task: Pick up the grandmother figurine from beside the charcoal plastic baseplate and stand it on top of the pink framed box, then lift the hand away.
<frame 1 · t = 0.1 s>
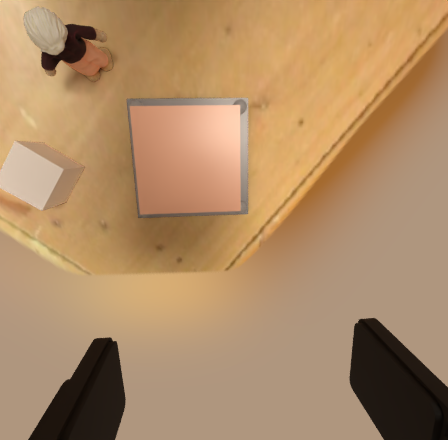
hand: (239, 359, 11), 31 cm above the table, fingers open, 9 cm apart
white cube: (56, 173, 38), on the table
pink framed box: (191, 159, 39), on the table
grandmother figurine: (94, 67, 35), on the table
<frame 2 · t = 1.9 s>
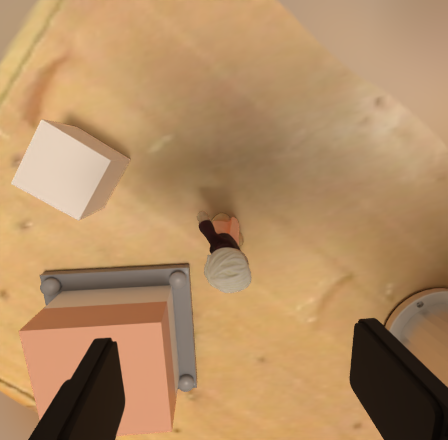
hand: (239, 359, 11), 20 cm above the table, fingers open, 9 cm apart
white cube: (92, 168, 28), on the table
pink framed box: (126, 330, 33), on the table
grandmother figurine: (222, 228, 31), on the table
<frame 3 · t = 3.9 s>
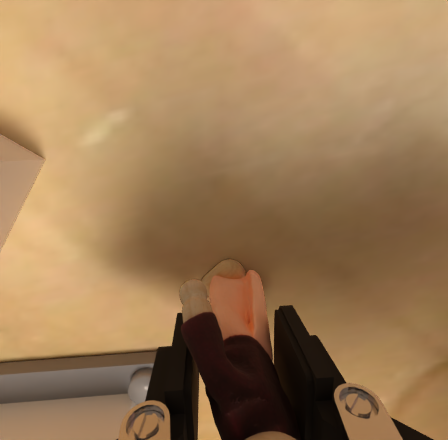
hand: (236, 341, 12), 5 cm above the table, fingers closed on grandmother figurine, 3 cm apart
grandmother figurine: (229, 285, 16), on the table, touching gripper
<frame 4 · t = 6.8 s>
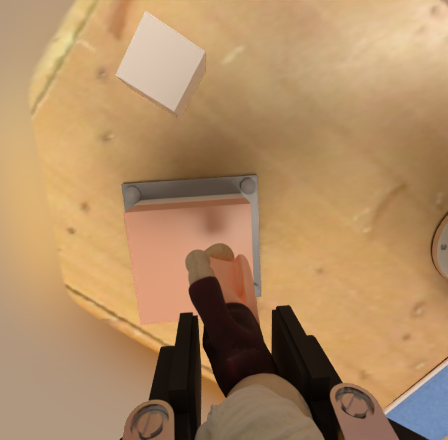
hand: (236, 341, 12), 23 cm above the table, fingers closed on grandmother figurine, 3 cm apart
white cube: (169, 80, 31), on the table
tablet computer: (437, 396, 45), on the table
pink framed box: (196, 241, 35), on the table
grandmother figurine: (217, 267, 18), point 17 cm above the table, touching gripper
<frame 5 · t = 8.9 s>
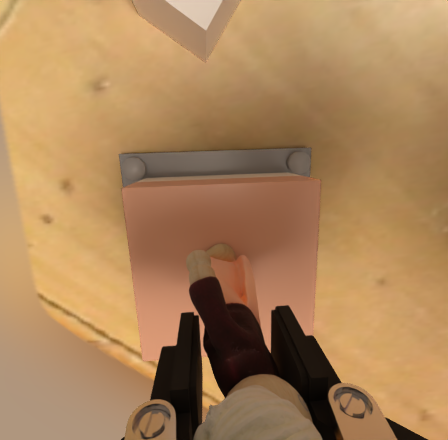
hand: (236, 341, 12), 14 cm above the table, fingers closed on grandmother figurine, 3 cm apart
white cube: (192, 5, 21), on the table
pink framed box: (220, 238, 25), on the table
grandmother figurine: (219, 268, 18), point 8 cm above the table, touching pink framed box, gripper
when the fingers open (14 cm above the table, at t = 9.1 s): grandmother figurine stays where it is, resting on pink framed box.
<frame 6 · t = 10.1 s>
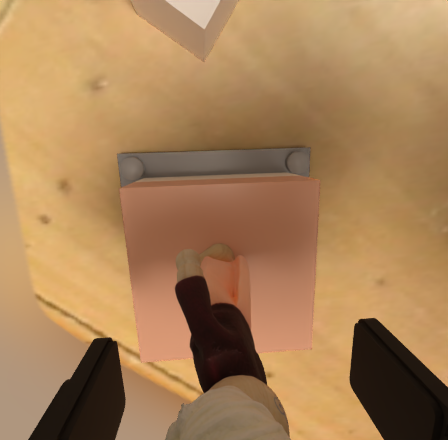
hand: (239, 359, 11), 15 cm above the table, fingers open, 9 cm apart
white cube: (191, 3, 21), on the table
pink framed box: (218, 239, 25), on the table
grandmother figurine: (218, 268, 18), point 8 cm above the table, touching pink framed box
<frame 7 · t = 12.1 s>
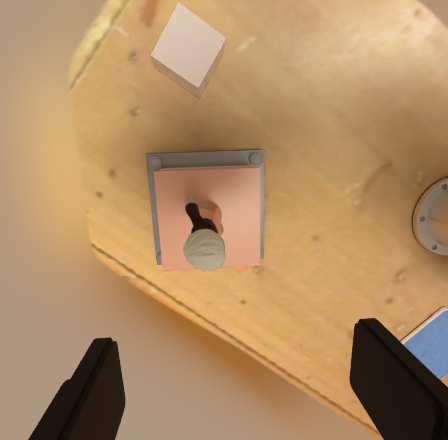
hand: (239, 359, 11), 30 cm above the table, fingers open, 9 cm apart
white cube: (191, 64, 35), on the table
tablet computer: (416, 357, 50), on the table
pink framed box: (208, 208, 40), on the table
grandmother figurine: (206, 216, 32), point 8 cm above the table, touching pink framed box
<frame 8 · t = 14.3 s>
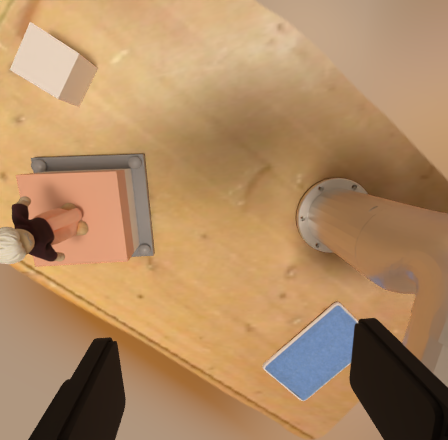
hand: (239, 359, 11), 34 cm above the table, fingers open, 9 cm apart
white cube: (69, 75, 38), on the table
tablet computer: (316, 349, 53), on the table
pink framed box: (98, 208, 43), on the table
grandmother figurine: (71, 216, 35), point 8 cm above the table, touching pink framed box
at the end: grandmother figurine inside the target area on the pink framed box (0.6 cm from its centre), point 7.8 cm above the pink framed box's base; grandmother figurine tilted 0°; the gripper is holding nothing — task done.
